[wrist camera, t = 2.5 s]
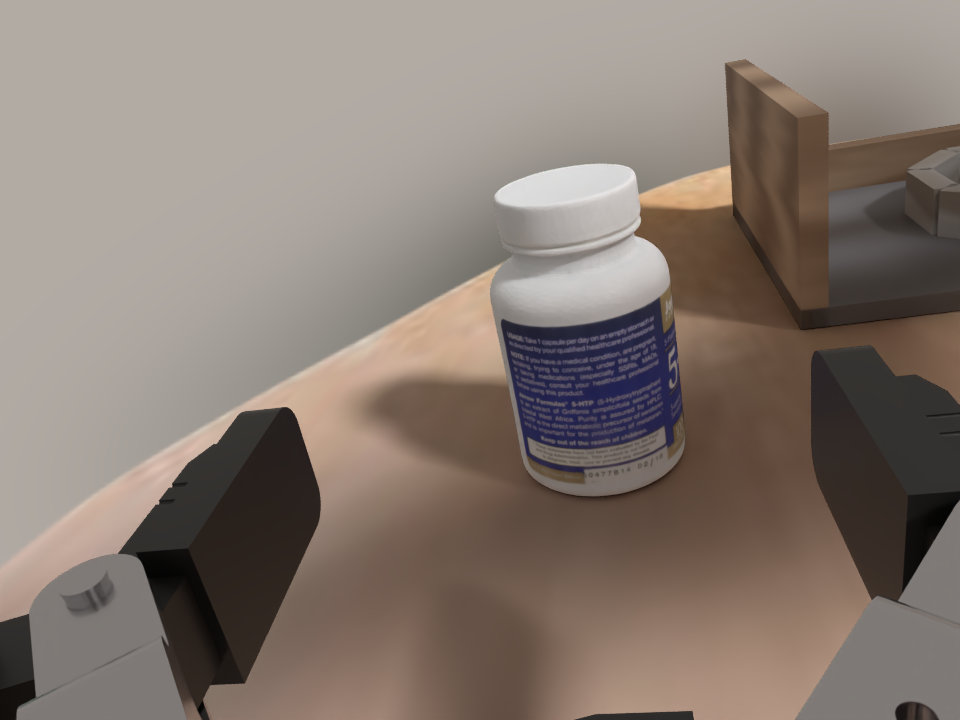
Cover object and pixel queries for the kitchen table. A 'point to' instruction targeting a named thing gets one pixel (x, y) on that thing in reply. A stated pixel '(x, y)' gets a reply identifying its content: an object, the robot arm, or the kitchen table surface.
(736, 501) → the kitchen table surface
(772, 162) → the walled box
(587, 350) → the pill bottle
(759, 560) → the kitchen table surface
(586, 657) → the kitchen table surface
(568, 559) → the kitchen table surface
